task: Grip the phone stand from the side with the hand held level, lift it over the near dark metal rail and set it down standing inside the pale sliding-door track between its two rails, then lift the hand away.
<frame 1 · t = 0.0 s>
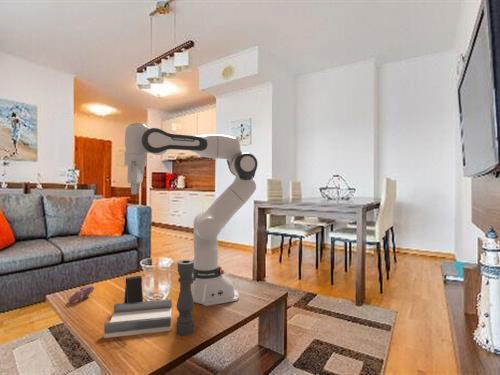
hand: (135, 193, 123), 48 cm above the table, tool pointing down, fingers open, 8 cm apart
track rails: (141, 314, 108), on the track base, point 2 cm above the table
video game controller: (82, 299, 128), on the table
candle holder: (185, 331, 102), on the table
track base: (141, 321, 109), on the table
phone stand: (133, 305, 123), on the table
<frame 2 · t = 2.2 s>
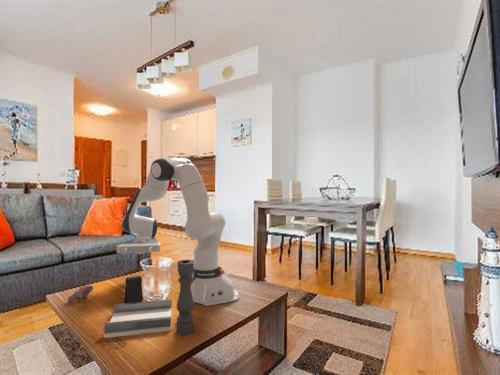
hand: (137, 251, 134), 20 cm above the table, tool horizontal, fingers open, 8 cm apart
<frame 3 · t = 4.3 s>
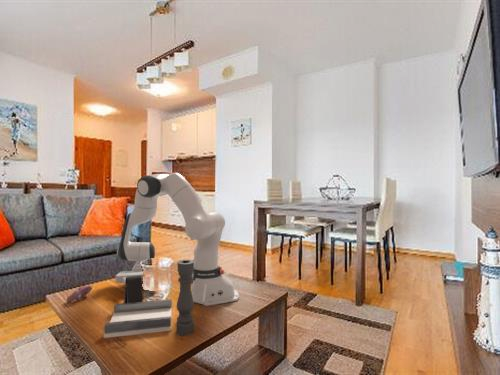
hand: (136, 281, 131), 7 cm above the table, tool horizontal, fingers open, 8 cm apart
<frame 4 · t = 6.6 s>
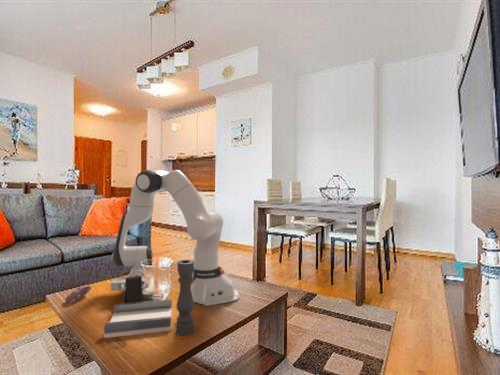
hand: (133, 289, 122), 7 cm above the table, tool horizontal, fingers closed on phone stand, 6 cm apart
phone stand: (133, 305, 123), on the table, touching gripper
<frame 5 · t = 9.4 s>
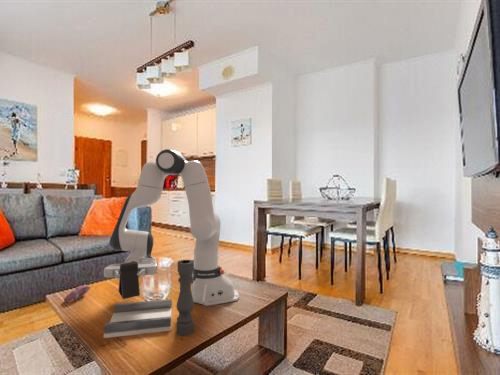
hand: (128, 275, 110), 17 cm above the table, tool horizontal, fingers closed on phone stand, 6 cm apart
phone stand: (128, 294, 111), point 9 cm above the table, touching gripper
when the fingers open (8 cm above the table, at t = 12.5 s): phone stand stays where it is, resting on track base.
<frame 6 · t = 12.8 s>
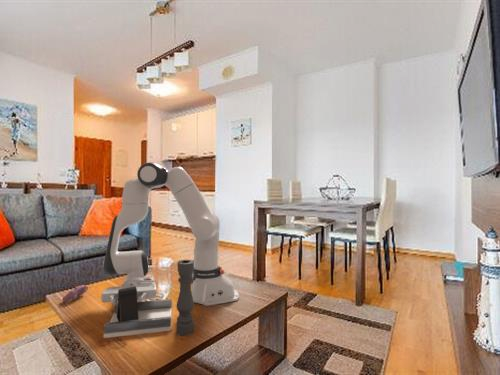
hand: (127, 301, 106), 8 cm above the table, tool horizontal, fingers open, 8 cm apart
phone stand: (127, 320, 107), point 1 cm above the table, touching track base
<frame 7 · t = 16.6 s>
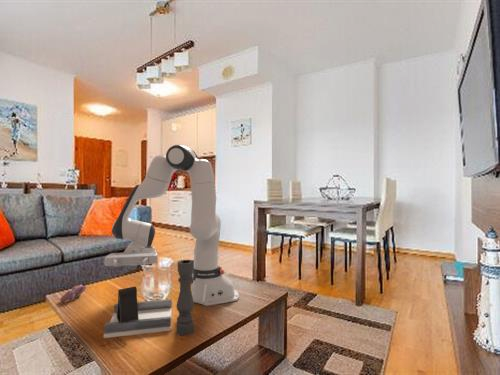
hand: (129, 264, 111), 21 cm above the table, tool horizontal, fingers open, 8 cm apart
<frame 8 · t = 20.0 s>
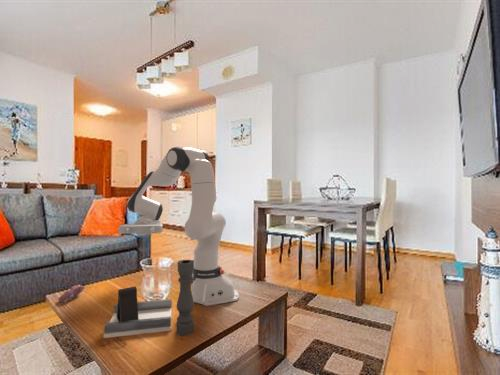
hand: (139, 231, 132), 30 cm above the table, tool horizontal, fingers open, 8 cm apart
at the end: phone stand inside the target area on the track base (5.0 cm from its centre), point 0.8 cm above the track base's base; phone stand tilted 0°; the gripper is holding nothing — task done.
